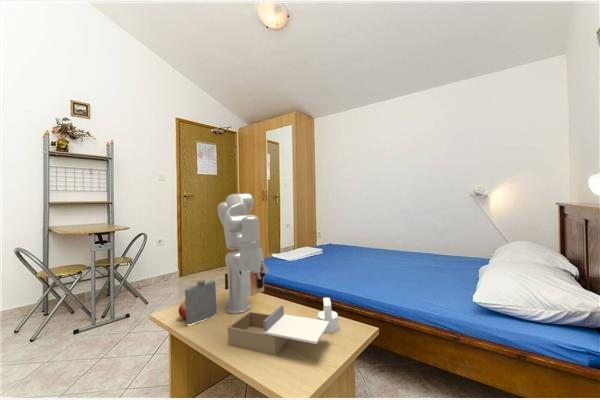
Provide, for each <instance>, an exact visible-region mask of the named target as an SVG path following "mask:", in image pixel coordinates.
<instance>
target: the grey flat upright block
mask: <svg viewBox="0 0 600 400" xmlns="http://www.w3.org/2000/svg"><path fill="white" fill-rule="evenodd" d="M196 282H197V284H195V285H192V286H190V287H187V288H184V298H185V299H184V300H185V301H186V319H185V321H186V325H187V324H192V323H195V322H198V321H201V320H204V319H207V318H210V317H212V316H214V315H215V314H217V315H218V312H217V309H218V308H217V295H216V293H217V291H216V281H215V280H209V281H207V282H206V280H205V279H198V280H197V281H196ZM215 316H216V315H215ZM215 316H214V317H215ZM212 318H213V317H212ZM210 319H211V318H210Z"/></svg>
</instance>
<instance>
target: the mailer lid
mask: <svg viewBox="0 0 600 400" xmlns="http://www.w3.org/2000/svg"><path fill="white" fill-rule="evenodd" d="M284 312H285V311H284V305H279V306H278V308H277V309H275V310H274V311H273V312H272V313H271V314H270V315H269V316H268V317H267V318H266V319H265V320H264V321H263V325H264V331H263V334H267V335H272V336H278V337H283V338H288V340H293V341H298V342H304V343H308V344H309V343H310V344H314V345H317V344H318V343H319V341H320V340H321V338H322V336H323V334H325V333H324V331H325V330H326V328H327V327H328V325H329V323H330V321H324V320H318V318H317V319H316V318H312V317H310V318H309V317H305V316H298V315H291V314H286V313H284Z"/></svg>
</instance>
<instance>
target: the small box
mask: <svg viewBox="0 0 600 400" xmlns="http://www.w3.org/2000/svg"><path fill="white" fill-rule="evenodd" d="M262 272H264V270H263V271H262ZM241 275H242V294H243V295H247V297H253V296H255V295H257V294H260V293H263V292H265V281H264V280H265V276H264V277H263V287H261V288H260V289H258V283H257V280H258V279H259V278H258V276H257V274H256V273H253V271H251V270H241Z"/></svg>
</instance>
